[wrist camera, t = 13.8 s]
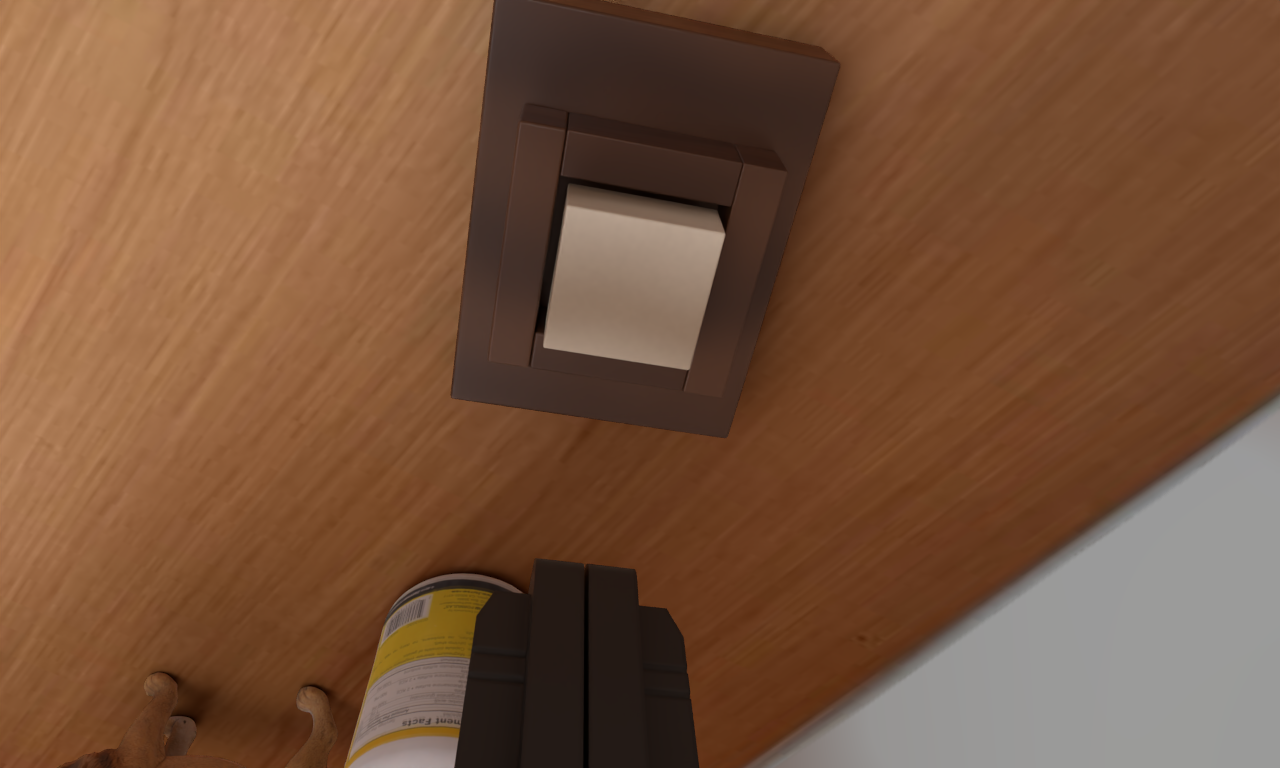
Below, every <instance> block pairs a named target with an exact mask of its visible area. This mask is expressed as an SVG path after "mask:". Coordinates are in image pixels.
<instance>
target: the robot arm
mask: <svg viewBox="0 0 1280 768" xmlns="http://www.w3.org/2000/svg"><path fill="white" fill-rule="evenodd" d="M454 768H699V762H698V754H697V746H696V738H695V729H694V721H693V713H692V704H691V699H690V688H689V679H688V674H687V663H686V654H685V646H684V638H683V635H682V634H681V632H680V630H679V629H678V627H677V625H676V624H675V622H674V620H673V619H672V617H671V615H670V614H669V612H668V610H667V609H665V608H656V607H647V606H639V602H638V587H637V575H636V571H635V569H628V568H619V567H610V566H602V565H593V564H587V565H586V567H585V570H584V564H582V563H573V562H564V561H556V560H547V559H538V558H535V560H534V565H533V570H532V575H531V581H530V586H529V592H528V594H524V593H515V592H505V591H496V590H495V591H494V592H493V594H492V595H491V597H490V598H489V599H488V601H487V602H486V603H485V605H484V606H483V608H482V609H481V610H480V612H479V613H478V614H477V616H476V622H475V629H474V636H473V643H472V650H471V657H470V663H469V670H468V677H467V684H466V691H465V697H464V704H463V711H462V718H461V725H460V732H459V738H458V745H457V752H456V759H455V766H454Z"/></svg>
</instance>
